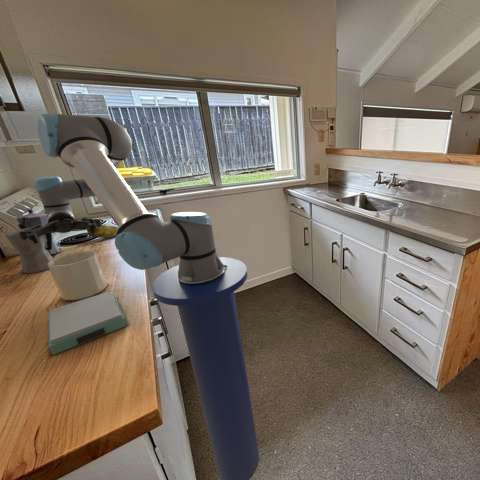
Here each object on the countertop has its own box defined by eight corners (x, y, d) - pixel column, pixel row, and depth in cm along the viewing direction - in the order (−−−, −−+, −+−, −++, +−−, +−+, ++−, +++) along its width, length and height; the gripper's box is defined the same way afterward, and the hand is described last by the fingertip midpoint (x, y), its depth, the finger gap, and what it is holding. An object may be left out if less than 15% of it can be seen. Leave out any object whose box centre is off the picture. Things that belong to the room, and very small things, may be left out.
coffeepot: (9, 274, 95) (-14, 228, 89) (34, 263, 104) (15, 220, 98) (53, 272, 96) (33, 226, 90) (73, 261, 105) (57, 219, 99)
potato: (123, 236, 134) (118, 222, 131) (91, 243, 126) (85, 227, 123) (120, 233, 140) (116, 219, 137) (90, 238, 131) (84, 224, 129)
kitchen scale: (115, 298, 79) (112, 289, 78) (127, 326, 66) (124, 316, 65) (51, 319, 70) (47, 309, 68) (52, 356, 57) (46, 345, 56)
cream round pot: (104, 280, 90) (93, 248, 86) (109, 291, 83) (98, 257, 79) (61, 292, 83) (47, 258, 79) (63, 306, 76) (47, 269, 71)
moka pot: (65, 246, 121) (49, 205, 114) (57, 257, 109) (38, 212, 102) (37, 251, 116) (18, 208, 109) (25, 263, 104) (3, 215, 97)
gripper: (106, 223, 107) (115, 235, 93) (17, 238, 90) (12, 255, 76) (100, 206, 104) (109, 215, 90) (8, 218, 88) (0, 232, 74)
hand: (64, 234), depth 83 cm, fingers open, 13 cm apart
